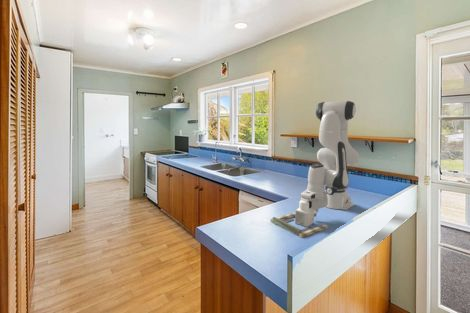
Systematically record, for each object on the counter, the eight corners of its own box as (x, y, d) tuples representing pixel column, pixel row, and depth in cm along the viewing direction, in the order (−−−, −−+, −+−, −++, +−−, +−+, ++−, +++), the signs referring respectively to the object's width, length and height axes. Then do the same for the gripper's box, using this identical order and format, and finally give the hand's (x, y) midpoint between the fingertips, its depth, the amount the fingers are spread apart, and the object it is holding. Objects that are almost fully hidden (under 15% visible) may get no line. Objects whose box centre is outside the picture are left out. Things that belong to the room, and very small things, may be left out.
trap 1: (290, 218, 140) (290, 218, 140) (294, 220, 138) (294, 219, 138) (277, 222, 135) (277, 221, 135) (281, 224, 132) (281, 223, 132)
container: (300, 219, 140) (301, 197, 138) (313, 222, 135) (315, 200, 133) (294, 223, 134) (295, 200, 132) (308, 227, 129) (309, 203, 127)
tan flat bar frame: (295, 214, 146) (295, 210, 146) (327, 228, 128) (327, 222, 128) (270, 221, 135) (270, 216, 135) (301, 237, 117) (301, 231, 117)
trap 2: (309, 227, 129) (310, 226, 129) (314, 229, 126) (314, 228, 126) (297, 231, 123) (297, 231, 123) (301, 234, 121) (301, 233, 121)
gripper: (322, 189, 145) (320, 211, 147) (298, 194, 134) (297, 218, 136) (331, 191, 140) (329, 214, 142) (307, 197, 129) (306, 222, 130)
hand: (313, 216), depth 139 cm, fingers closed
